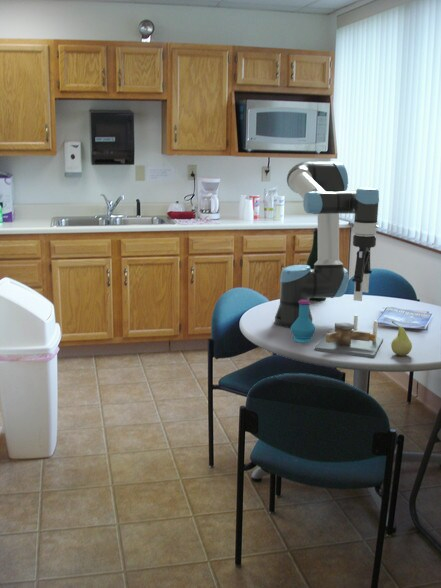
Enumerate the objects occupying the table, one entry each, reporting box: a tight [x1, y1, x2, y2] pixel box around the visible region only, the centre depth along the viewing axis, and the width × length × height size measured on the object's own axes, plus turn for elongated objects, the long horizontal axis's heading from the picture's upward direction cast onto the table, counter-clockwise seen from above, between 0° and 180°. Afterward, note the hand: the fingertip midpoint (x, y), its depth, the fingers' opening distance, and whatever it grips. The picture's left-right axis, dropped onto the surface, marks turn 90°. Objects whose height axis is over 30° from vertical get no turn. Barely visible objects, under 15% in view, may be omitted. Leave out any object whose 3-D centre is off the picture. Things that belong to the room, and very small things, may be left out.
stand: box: [313, 314, 384, 359], centre depth 246 cm, size 21×21×9 cm
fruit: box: [390, 320, 413, 357], centre depth 236 cm, size 7×8×12 cm
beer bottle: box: [305, 227, 326, 301], centre depth 313 cm, size 10×10×33 cm
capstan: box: [325, 322, 375, 345], centre depth 243 cm, size 16×16×7 cm
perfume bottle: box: [290, 300, 317, 343], centre depth 252 cm, size 9×9×15 cm
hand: (360, 296), depth 233 cm, fingers open, 13 cm apart
